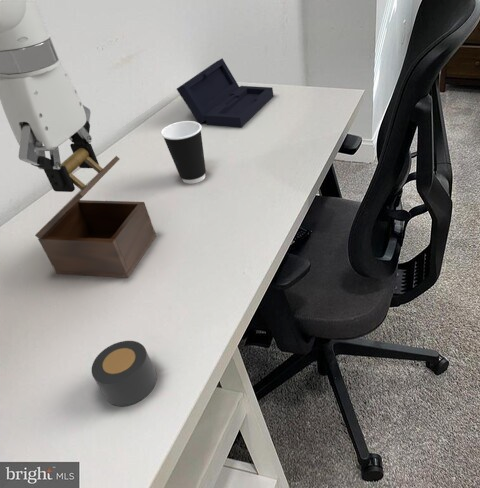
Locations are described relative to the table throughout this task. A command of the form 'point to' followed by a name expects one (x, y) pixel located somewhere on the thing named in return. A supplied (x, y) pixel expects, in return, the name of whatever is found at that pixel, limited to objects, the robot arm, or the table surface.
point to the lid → (78, 181)
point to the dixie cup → (186, 149)
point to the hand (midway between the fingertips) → (77, 177)
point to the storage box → (222, 97)
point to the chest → (99, 238)
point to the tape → (124, 373)
